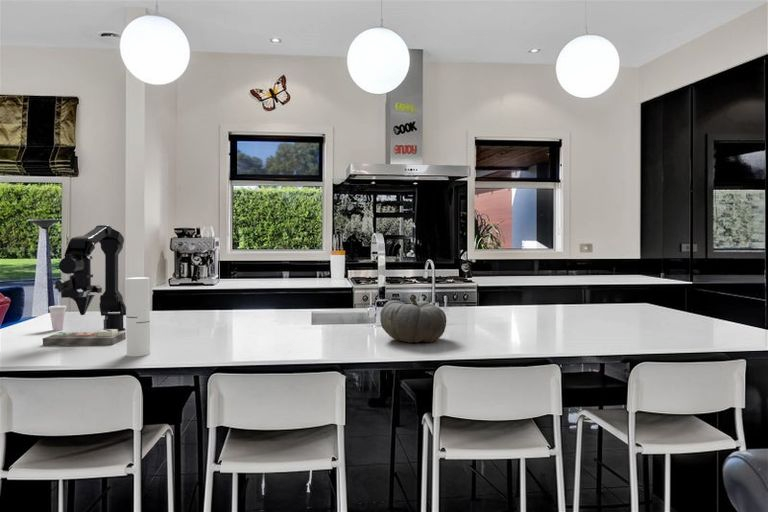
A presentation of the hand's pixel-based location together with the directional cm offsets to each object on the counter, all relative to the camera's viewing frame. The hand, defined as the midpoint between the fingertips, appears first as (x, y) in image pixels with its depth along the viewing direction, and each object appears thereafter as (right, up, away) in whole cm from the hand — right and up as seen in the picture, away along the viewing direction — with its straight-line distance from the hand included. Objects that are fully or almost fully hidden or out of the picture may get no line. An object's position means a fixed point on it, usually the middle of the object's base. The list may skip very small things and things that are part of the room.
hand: (82, 314), depth 210 cm
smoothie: (-24, -9, +27) cm, 38 cm away
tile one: (+1, -11, +1) cm, 11 cm away
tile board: (+1, -10, 0) cm, 10 cm away
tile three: (+9, -10, +1) cm, 13 cm away
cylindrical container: (+29, -11, -21) cm, 37 cm away
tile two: (-7, -11, 0) cm, 13 cm away
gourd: (+121, -10, +6) cm, 122 cm away
